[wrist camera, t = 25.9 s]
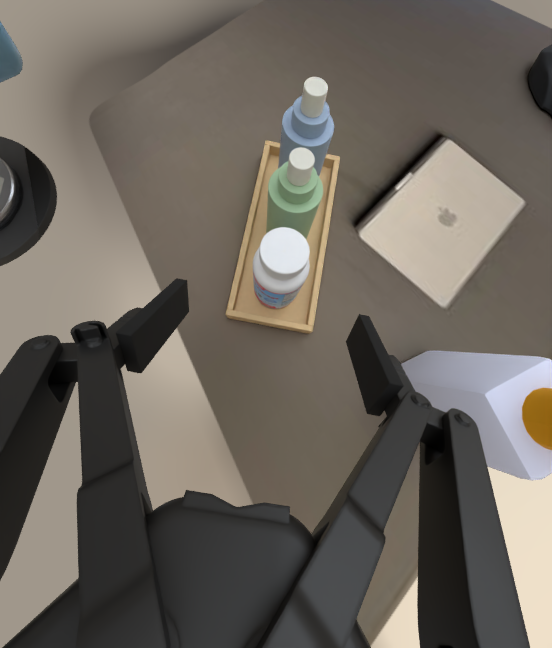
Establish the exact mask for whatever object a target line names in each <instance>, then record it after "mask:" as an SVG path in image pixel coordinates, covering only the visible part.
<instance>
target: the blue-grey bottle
mask: <svg viewBox="0 0 552 648" xmlns="http://www.w3.org/2000/svg"><path fill="white" fill-rule="evenodd" d="M327 91H328V86H327V84H326V82H325V81H324V80H323V79H321V78H318V77H311V78H308V79H307V80H306V81H305V83H304V88H303V94H302V96H300V97H299V98H297V99H296V101H295V102H294V105H293V106H291V107H290V108H289V109H288V110H287V111H286V112H285V114H284V116H283V120H282V131H281V142H280V153H279V164H278V168H280V167H282V165H283V164H284V163H286V162H287V161H289V155H290V153H291V151H292V150H294V149H296V148H299V147H302V148H306V149H308V150H310V151H311V152H312V153H313V155H314V158H315V162H314V166H313V167H314V168H315V170H316V172H317V175H318V176H320V173H321V169H322V166H323V163H324V160H325V157H326V154H327V151H328V147H329V144H330V141H331V138H332V135H333V132H334V123H333V120H332V117H331V116H330V114H329V106H328V104H327V103H326V102H325V99H326V95H327Z"/></svg>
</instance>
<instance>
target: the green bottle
mask: <svg viewBox="0 0 552 648" xmlns="http://www.w3.org/2000/svg"><path fill="white" fill-rule="evenodd" d="M314 162H315V158H314V155H313V153H312V152H311V151H310V150H308V149H306V148H302V147H299V148H296V149H294V150H292V151H291V153H290V155H289V161H287V162H286V163H284V164H283V165H282V167H280V168H278V169H277V170H276V171H275V172H274V173H273V174H272V175H271V177H270V180H269V183H268V202H267V226H266V234H267V233H268V232H269V231H271V230H273V229H276V228H280V227H286V228H291V229H294V230H296V231H298V232H299V233H300V234H302V235H303V236H304V238H305V239H307V236H308V234H309V231H310V228H311V226H312V223H313V220H314V218H315V215H316V212H317V210H318V207H319V204H320V202H321V199H322V196H323V185H322V182H321V180H320V178H319V176H318V175H317V172H316V170H315V168H314V167H313V166H314Z"/></svg>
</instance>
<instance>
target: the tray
mask: <svg viewBox="0 0 552 648" xmlns="http://www.w3.org/2000/svg"><path fill="white" fill-rule="evenodd" d="M279 153H280V143H276V142H272V141H267V140H266V142H265V147H264V151H263V155H262V160H261V164H260V168H259V172H258V177H257V181H256V185H255V190H254V194H253V198H252V203H251V207H250V211H249V215H248V220H247V224H246V228H245V233H244V237H243V241H242V246H241V250H240V254H239V258H238V263H237V267H236V271H235V276H234V280H233V284H232V289H231V293H230V297H229V302H228V306H227V310H226V316H227V317H228V318H230V319H235V320H240V321H246V322H251V323H256V324H261V325H266V326H271V327H276V328H281V329H287V330H292V331H297V332H302V333H307V334H309V333H311V332H312V331H313V326H314V319H315V313H316V307H317V300H318V294H319V288H320V281H321V275H322V269H323V262H324V256H325V250H326V243H327V237H328V231H329V224H330V218H331V211H332V205H333V199H334V192H335V186H336V180H337V173H338V167H339V160H340V157H338V156H334V155H329V154H326V157H325V160H324V163H323V166H322V169H321V173H320V176H319V178H320V180H321V182H322V185H323V196H322V199H321V202H320V204H319V207H318V210H317V212H316V215H315V218H314V220H313V223H312V226H311V228H310V231H309V234H308V236H307V239H306V241H307V242H308V245H309V250H310V254H309V265H310V268H309V273H308V276H307V279H306V280H305V282H304V284H303V285H302V287H301V289H300V291H299V292H298V294H297V295H296V297H295V299H294V300H293V301H292V302H291V303H290V304H289V305H288V306H286V307H284V308H281V309H271V308H268V307H266V306H264V305H263V304H261V303H260V302H259V300H258V299H257V297H256V295H255V292H254V281H253V258H254V255H255V253H256V251H257V250H258V248H259V247H260V243H261V241H262V239H263V237H264V236H265V235H266V226H267V202H268V183H269V180H270V177H271V175H272V174H273V173H274V172H275V171H276V170H277V169H278V164H279Z"/></svg>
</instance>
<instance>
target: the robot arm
mask: <svg viewBox="0 0 552 648" xmlns="http://www.w3.org/2000/svg"><path fill="white" fill-rule="evenodd" d="M22 64H23V62H22V58H21V55H20V53H19V51H18V49H17V47H16V46H15V44H14V42H13V41H12V39H11V37H10V36H9V35H8V33H7V31H6V30H5V28H4V26H3V25H2V23H1V22H0V82H3V81H5V80H7V79H9V78H12V77H14V76H16V75H18V74H20V72H21V70H22ZM22 199H23V186H22V182H21V180H20V177H19V176H18V174H17V173H16V171H15V170H14V169H13V168H12V167H11V166H10V165H8V164H7V163H6V162H5V161H3V160H2V159H1V158H0V231H1V230H3V229H4V228H5V227H6V226H7V225H8V224H9V223H10V222H11V221H12V220H13V219H14V217H15V216H16V214H17V213H18V211H19V209H20V206H21V203H22ZM188 312H189V304H188V288H187V280H182V279H175V280H174V281H173V282H172V283H171V284H170V285H169V286H168V287H166V288H165V289H164V290H163V291H162V292H161V293H160V294H159V295H157V296H156V297H155V298H154V299H153V300H152V301H151V302H149V303H148V304H147V305H146V306H145V307H144V308H135V309H132V310H130V311H128V312H127V313H126V314H125V315H123V317H121V318H120V319H119V320H118V321H116V322H115V323H114V324H112V325H111V326H110V327H109V328H108V329H107V328H106V326H105V324H104V323H102V322H100V321H88V322H83V323H80V324H78V325H76V326H75V327H73V328H72V330H71V335H72V337H73V339H74V341H75V343H60V341H59V339H58V338H57V337H56V336H52V335H44V336H38V337H35V338H32V339H30V340H28V341H26V342H24V343H23V344H22V345H21V346H20V347H19V349H18V350H17V352H16V353H15V355H14V356H13V357H12V359H11V360H10V362H9V363H8V365H7V366H6V368H5V369H4V370H3V372H2V373H1V374H0V580H1V578H2V576H3V574H4V572H5V570H6V568H7V566H8V563H9V561H10V559H11V556H12V554H13V551H14V549H15V547H16V544H17V541H18V539H19V536H20V533H21V530H22V528H23V525H24V522H25V519H26V517H27V514H28V511H29V509H30V505H31V503H32V500H33V498H34V495H35V492H36V489H37V487H38V484H39V481H40V479H41V476H42V473H43V470H44V468H45V465H46V462H47V460H48V457H49V454H50V451H51V449H52V446H53V443H54V440H55V438H56V435H57V432H58V429H59V427H60V424H61V421H62V418H63V416H64V413H65V410H66V408H67V405H68V402H69V399H70V397H71V394H72V391H73V388H74V386H75V383H76V382H78V389H79V390H78V391H79V414H80V437H81V460H82V486H81V487H80V488H79V489H78V493H77V527H78V566H79V578H78V579H77V580H76V581H75V582H74V583H73V584H72V585H71V586H69V587H68V588H67V589H66V590H65V591H64V592H63V593H62V594H61V595H60V596H58V597H57V598H56V599H55V600H54V601H53V602H52V603H51V604H50V605H49V606H47V607H46V608H45V609H44V610H43V611H42V612H41V613H40V614H39V615H38V616H36V618H34V619H33V620H32V621H31V622H30V623H29V624H28V625H27V626H25V627H24V628H23V629H22V630H21V631H20V632H19V633H18V634H17V635H16V636H15V637H13V638H12V639H11V640H10V641H9V642H8V643H7V644H6V645H5V646H4V647H3V648H371V647H370V645H369V643H368V641H367V639H366V637H365V635H364V633H363V631H362V629H361V627H360V626H359V624H358V622H357V620H356V618H357V615H358V613H359V610H360V608H361V605H362V602H363V600H364V597H365V594H366V592H367V589H368V587H369V584H370V581H371V579H372V576H373V574H374V571H375V568H376V566H377V563H378V561H379V558H380V555H381V553H382V550H383V547H384V544H385V536H384V534H383V532H384V528H385V526H386V523H387V521H388V518H389V516H390V513H391V511H392V508H393V506H394V503H395V501H396V498H397V496H398V493H399V491H400V488H401V486H402V483H403V481H404V479H405V476H406V474H407V471H408V469H409V466H410V464H411V461H412V459H413V456H414V454H415V451H416V449H417V446H418V444H419V441H420V481H419V543H418V630H419V640H420V648H530V645H529V641H528V636H527V632H526V629H525V624H524V620H523V615H522V611H521V607H520V603H519V599H518V594H517V590H516V586H515V582H514V577H513V573H512V569H511V565H510V561H509V556H508V553H507V548H506V544H505V540H504V535H503V531H502V527H501V523H500V518H499V514H498V510H497V506H496V502H495V498H494V493H493V489H492V485H491V481H490V476H489V472H488V468H487V464H486V459H485V455H484V451H483V447H482V442H481V438H480V434H479V430H478V427H477V424H476V423H475V421H474V420H473V419H472V418H471V417H470V416H469V415H468V414H466V413H464V412H463V411H461V410H458V409H455V408H451V409H450V410H448V411H447V412H443V411H441V410H439V409H437V408H434V407H432V405H431V403H430V401H429V400H428V399H427V398H426V397H425V396H423V395H422V394H420V393H418V392H416V391H415V389H414V388H413V386H412V384H411V382H410V380H409V378H408V376H407V375H406V373H405V371H404V369H403V367H402V365H401V364H400V362H399V361H398V360H397V359H396V358H395V357H394V356H393V355H388V353H387V351H386V349H385V347H384V345H383V343H382V341H381V339H380V337H379V335H378V333H377V331H376V329H375V327H374V325H373V323H372V321H371V319H370V317H369V316H365V315H360V314H359V316H358V318H357V320H356V322H355V324H354V326H353V328H352V330H351V332H350V334H349V337H348V339H347V341H346V343H347V346H348V350H349V353H350V357H351V360H352V364H353V367H354V370H355V374H356V377H357V381H358V384H359V388H360V391H361V395H362V398H363V401H364V405H365V408H366V412H367V414H371V415H377V416H380V415H381V414H382V413H383V411H384V410H385V412H386V415H387V417H386V418H385V419H384V420H383V422H382V423H381V424H380V425H379V426H378V427H379V429H378V430H377V432H376V434H375V435H374V437H373V438H372V440H371V442H370V443H369V445H368V446H367V448H366V450H365V451H364V453H363V455H362V456H361V458H360V459H359V461H358V463H357V464H356V466H355V467H354V469H353V471H352V472H351V474H350V475H349V477H348V479H347V480H346V482H345V483H344V485H343V487H342V488H341V490H340V491H339V493H338V495H337V496H336V498H335V499H334V501H333V503H332V504H331V506H330V507H329V509H328V511H327V512H326V514H325V515H324V517H323V518H322V520H321V521H320V522H319V524H318V525H317V526H316V528H315V529H314V531H313V532H312V534H311V533H310V532H309V531H308V529H307V528H306V527H305V526H304V525H303V524H302V523H301V522H300V521H299V520H298V519H296V518H295V517H294V516H292V515H290V507H289V506H282V505H276V504H270V503H260V504H254V505H248V506H242V507H235V506H233V505H231V504H229V503H227V502H226V501H224V500H222V499H220V498H218V497H216V496H214V495H212V494H207V493H201V492H195V491H189V490H186V492H185V495H184V497H182V498H177V499H174V500H171V501H169V502H167V503H165V504H163V505H161V506H159V507H158V508H156V509H155V510H154V511H153V509H152V505H151V501H150V498H149V494H148V491H147V487H146V482H145V478H144V473H143V468H142V464H141V459H140V455H139V450H138V446H137V441H136V436H135V432H134V427H133V423H132V418H131V414H130V409H129V404H128V400H127V395H126V391H125V387H124V382H123V377H122V373H121V370H120V369H121V368H122V367H123V366H124V364H125V365H126V368H127V371H131V372H137V373H142V372H143V370H144V369H145V368H146V366H147V365H148V364H149V363H150V361H151V360H152V359H153V358H154V356H155V355H156V353H157V352H158V351H159V350H160V348H161V347H162V346H163V345H164V343H165V342H166V341H167V339H168V338H169V337H170V336H171V334H172V333H173V332H174V330H175V329H176V328H177V326H178V325H179V324H180V323H181V321H182V320H183V319H184V317H185V316H186V315H187V314H188Z"/></svg>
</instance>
